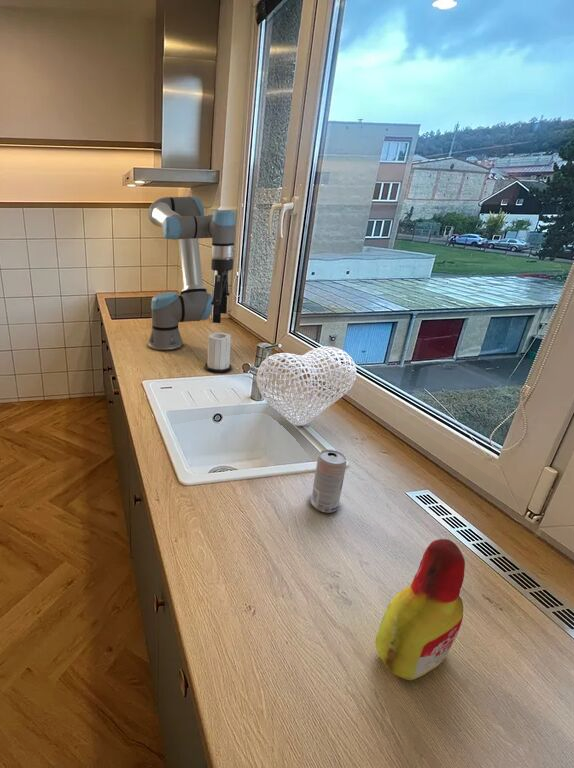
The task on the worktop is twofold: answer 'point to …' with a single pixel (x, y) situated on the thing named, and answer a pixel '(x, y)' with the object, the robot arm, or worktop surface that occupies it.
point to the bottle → (424, 614)
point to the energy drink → (328, 480)
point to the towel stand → (218, 370)
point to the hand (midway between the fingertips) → (219, 317)
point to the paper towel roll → (219, 350)
